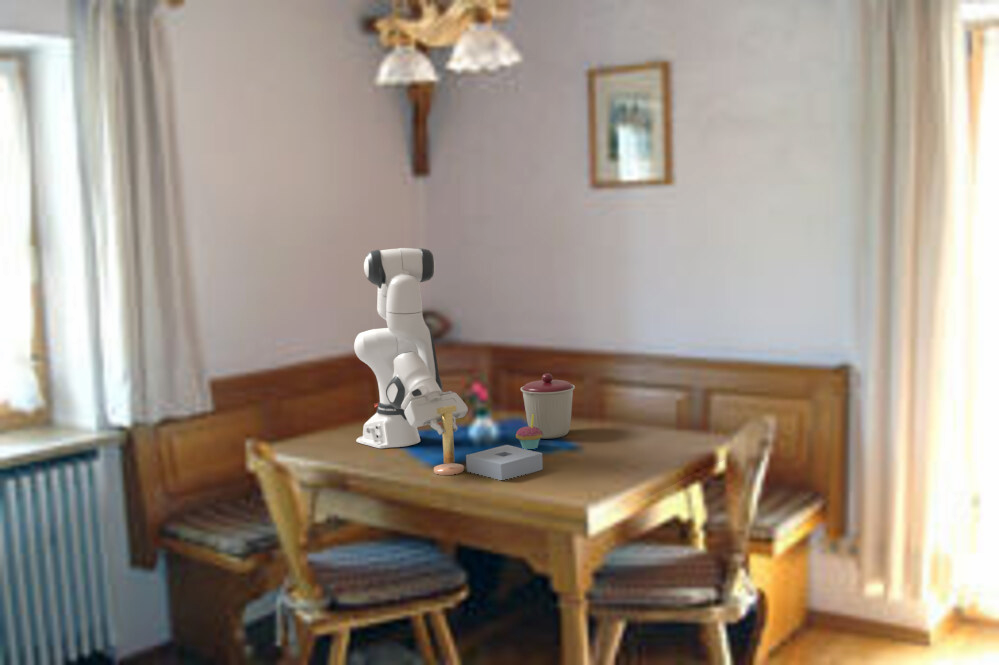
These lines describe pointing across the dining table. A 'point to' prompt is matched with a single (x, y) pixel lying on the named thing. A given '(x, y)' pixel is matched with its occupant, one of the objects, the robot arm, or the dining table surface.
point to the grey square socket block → (504, 462)
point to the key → (447, 432)
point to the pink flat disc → (448, 469)
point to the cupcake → (529, 436)
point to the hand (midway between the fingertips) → (448, 431)
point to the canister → (549, 405)
